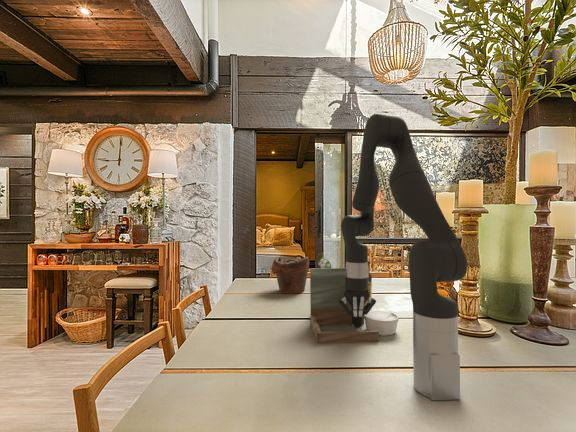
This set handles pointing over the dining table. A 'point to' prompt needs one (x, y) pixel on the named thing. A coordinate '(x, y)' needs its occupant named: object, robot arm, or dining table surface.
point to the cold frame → (333, 307)
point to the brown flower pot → (291, 274)
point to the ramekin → (381, 322)
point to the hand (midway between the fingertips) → (356, 327)
